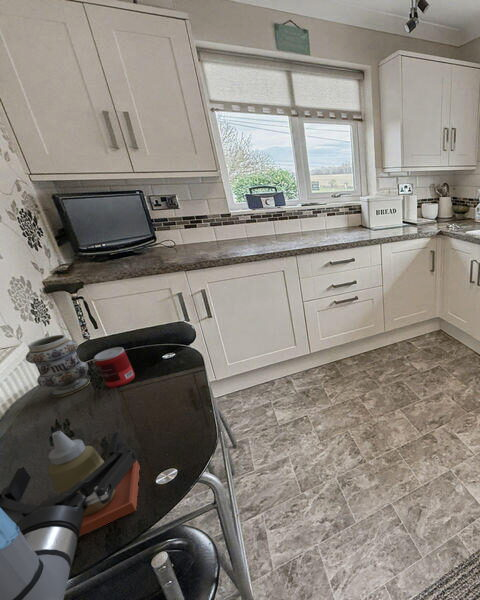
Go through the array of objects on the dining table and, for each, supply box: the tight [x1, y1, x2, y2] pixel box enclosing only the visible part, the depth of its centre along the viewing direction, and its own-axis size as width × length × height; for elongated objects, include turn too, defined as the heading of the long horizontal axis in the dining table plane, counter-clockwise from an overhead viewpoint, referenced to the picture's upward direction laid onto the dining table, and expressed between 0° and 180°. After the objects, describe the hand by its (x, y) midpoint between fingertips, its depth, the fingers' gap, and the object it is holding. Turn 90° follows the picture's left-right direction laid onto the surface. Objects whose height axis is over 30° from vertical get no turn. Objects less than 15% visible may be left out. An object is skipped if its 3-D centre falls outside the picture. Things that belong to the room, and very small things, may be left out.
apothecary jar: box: [25, 334, 91, 398], centre depth 106 cm, size 12×12×18 cm
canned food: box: [93, 346, 136, 389], centre depth 108 cm, size 8×8×11 cm
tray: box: [79, 459, 141, 536], centre depth 66 cm, size 13×13×2 cm
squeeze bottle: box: [47, 430, 115, 516], centre depth 63 cm, size 8×8×18 cm
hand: (74, 454), depth 63 cm, fingers open, 13 cm apart
